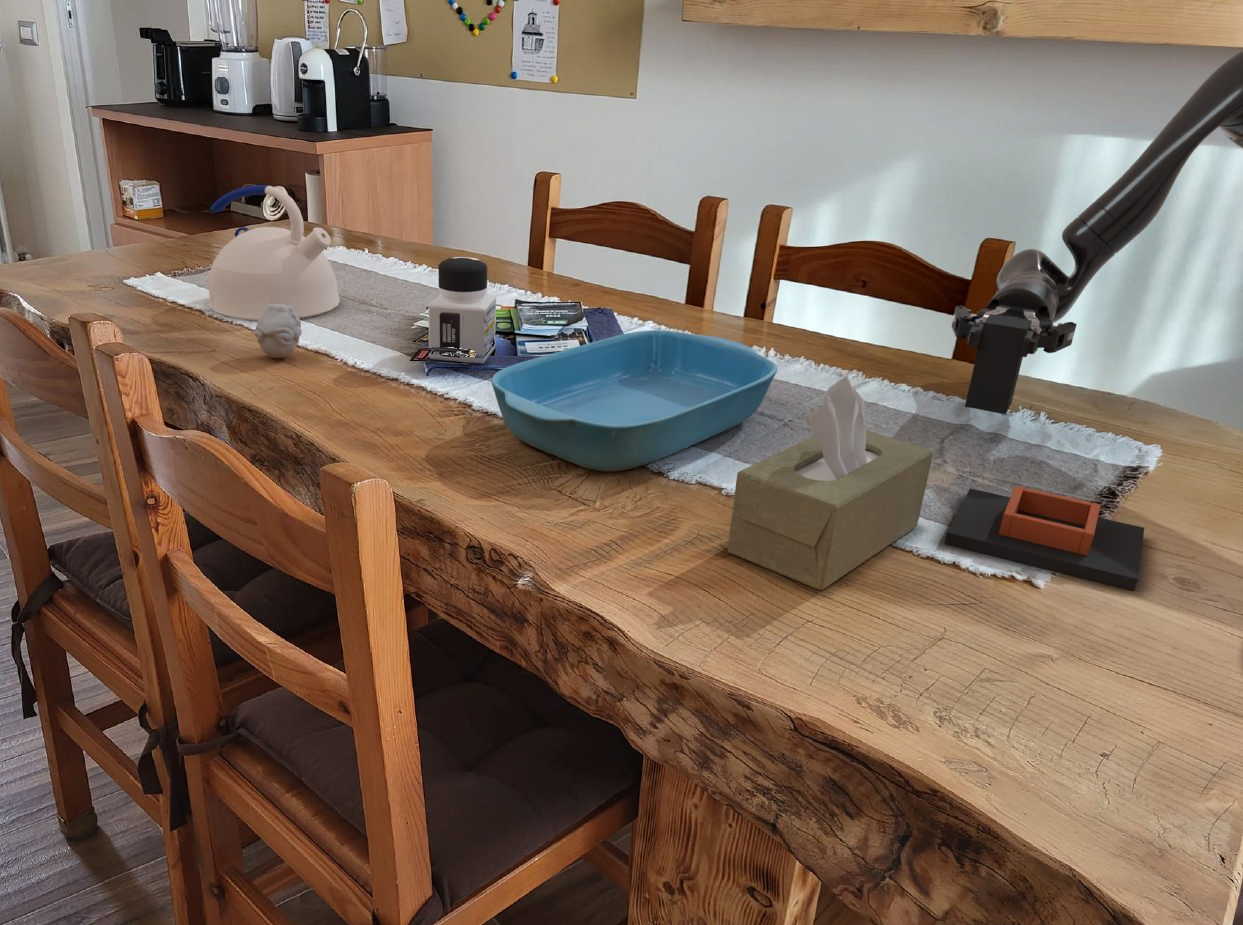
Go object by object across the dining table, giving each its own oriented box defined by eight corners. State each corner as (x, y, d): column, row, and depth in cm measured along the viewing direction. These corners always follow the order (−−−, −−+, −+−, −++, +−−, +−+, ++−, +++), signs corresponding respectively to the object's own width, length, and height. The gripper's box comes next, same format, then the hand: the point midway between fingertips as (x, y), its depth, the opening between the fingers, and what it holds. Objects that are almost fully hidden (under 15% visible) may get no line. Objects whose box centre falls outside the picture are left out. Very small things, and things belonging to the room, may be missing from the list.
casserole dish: (600, 502, 103) (605, 435, 99) (452, 438, 116) (452, 377, 113) (801, 417, 126) (810, 360, 123) (658, 371, 140) (663, 319, 137)
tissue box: (828, 494, 106) (855, 344, 99) (918, 526, 100) (953, 369, 93) (723, 553, 94) (745, 387, 87) (819, 593, 88) (851, 418, 81)
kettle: (296, 328, 153) (287, 201, 144) (180, 310, 159) (164, 188, 151) (365, 297, 170) (360, 182, 161) (257, 282, 176) (247, 171, 168)
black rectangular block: (1011, 403, 122) (1032, 320, 118) (1005, 414, 119) (1026, 329, 114) (971, 396, 124) (990, 313, 120) (964, 406, 121) (983, 322, 116)
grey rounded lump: (312, 351, 143) (308, 301, 140) (289, 366, 137) (286, 314, 134) (271, 347, 144) (267, 297, 141) (247, 361, 138) (242, 310, 135)
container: (483, 364, 140) (484, 268, 135) (428, 359, 142) (427, 264, 136) (495, 348, 147) (497, 256, 141) (442, 344, 148) (442, 252, 142)
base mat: (1140, 538, 100) (1151, 506, 98) (1134, 591, 90) (1145, 556, 89) (967, 498, 107) (974, 468, 105) (944, 543, 97) (952, 511, 96)
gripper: (1075, 351, 128) (1060, 388, 114) (954, 332, 134) (927, 365, 120) (1092, 290, 124) (1078, 321, 111) (967, 273, 131) (940, 301, 117)
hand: (1000, 344), depth 116 cm, fingers closed on black rectangular block, 4 cm apart
